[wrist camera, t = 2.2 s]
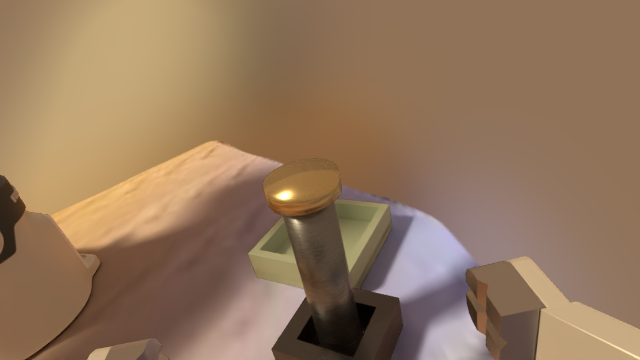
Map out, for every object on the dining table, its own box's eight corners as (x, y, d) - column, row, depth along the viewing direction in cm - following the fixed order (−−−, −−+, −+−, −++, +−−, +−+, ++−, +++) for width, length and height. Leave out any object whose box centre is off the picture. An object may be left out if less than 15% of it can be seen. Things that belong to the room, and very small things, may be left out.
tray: (256, 277, 38) (247, 253, 37) (307, 215, 46) (301, 194, 45) (353, 300, 33) (348, 274, 32) (392, 227, 41) (389, 204, 40)
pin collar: (281, 375, 28) (271, 349, 27) (324, 305, 33) (317, 279, 32) (370, 410, 25) (364, 382, 23) (402, 325, 30) (399, 297, 29)
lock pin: (305, 366, 29) (247, 193, 21) (330, 320, 32) (288, 157, 25) (360, 385, 26) (316, 201, 19) (381, 334, 30) (350, 160, 22)
